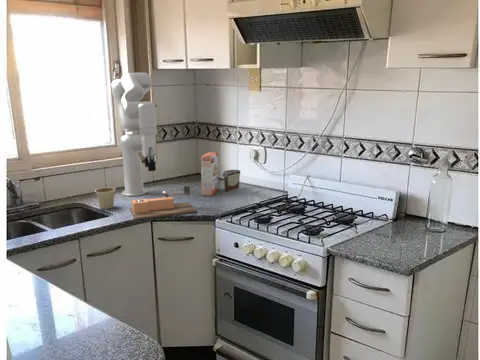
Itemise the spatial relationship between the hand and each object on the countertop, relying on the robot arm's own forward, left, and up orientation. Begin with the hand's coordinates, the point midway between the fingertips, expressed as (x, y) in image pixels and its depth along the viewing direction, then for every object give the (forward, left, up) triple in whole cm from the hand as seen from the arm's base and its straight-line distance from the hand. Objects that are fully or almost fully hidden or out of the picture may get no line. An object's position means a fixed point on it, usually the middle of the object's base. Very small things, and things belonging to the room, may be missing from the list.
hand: (150, 168), depth 213 cm
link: (0, +1, -19) cm, 19 cm away
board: (+2, +5, -20) cm, 21 cm away
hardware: (-2, +1, -19) cm, 19 cm away
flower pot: (-15, -19, -20) cm, 32 cm away
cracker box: (-23, +35, -20) cm, 46 cm away
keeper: (-3, +12, -14) cm, 19 cm away
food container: (-27, +47, -20) cm, 57 cm away
